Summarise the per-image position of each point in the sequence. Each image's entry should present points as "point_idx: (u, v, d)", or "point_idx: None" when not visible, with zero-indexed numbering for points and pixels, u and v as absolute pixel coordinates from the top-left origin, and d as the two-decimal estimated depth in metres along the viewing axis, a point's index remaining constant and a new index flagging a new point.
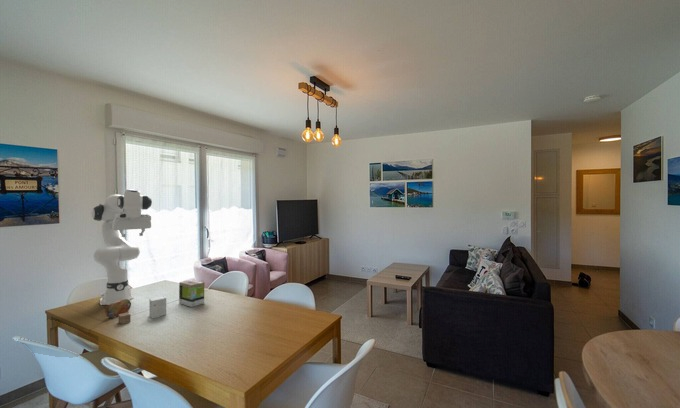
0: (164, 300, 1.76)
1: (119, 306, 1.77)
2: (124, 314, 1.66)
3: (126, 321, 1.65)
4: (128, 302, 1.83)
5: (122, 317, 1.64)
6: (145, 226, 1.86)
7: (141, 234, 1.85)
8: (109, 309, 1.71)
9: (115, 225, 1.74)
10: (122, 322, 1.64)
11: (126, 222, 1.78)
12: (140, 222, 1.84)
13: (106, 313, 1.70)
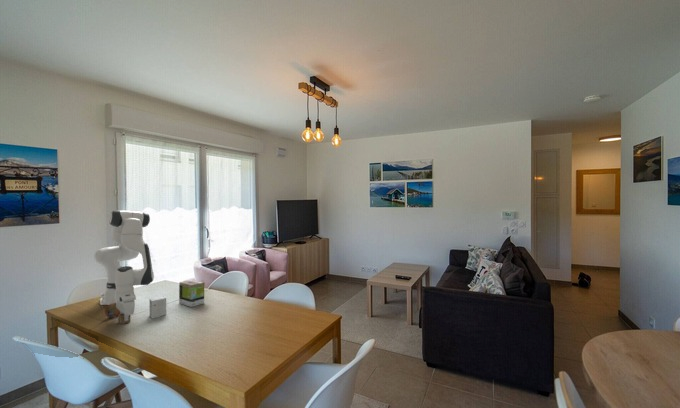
0: (164, 300, 1.76)
1: None
2: None
3: (126, 321, 1.65)
4: None
5: (122, 317, 1.64)
6: None
7: None
8: (109, 309, 1.71)
9: None
10: (122, 322, 1.64)
11: None
12: None
13: (106, 313, 1.70)
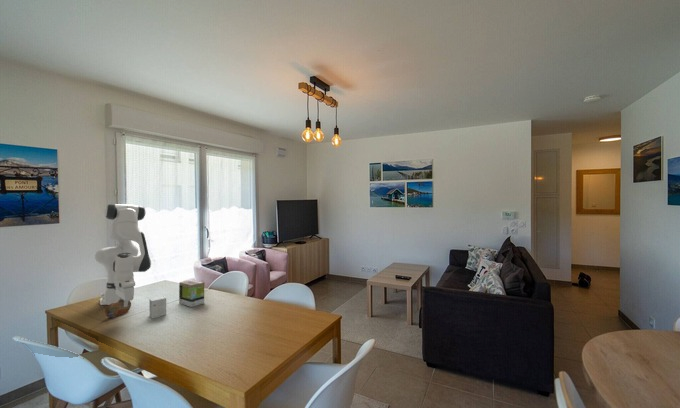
0: (164, 300, 1.76)
1: None
2: (123, 300, 1.66)
3: (125, 307, 1.65)
4: None
5: (121, 303, 1.64)
6: None
7: None
8: (109, 309, 1.71)
9: None
10: (121, 308, 1.64)
11: None
12: None
13: (106, 313, 1.70)
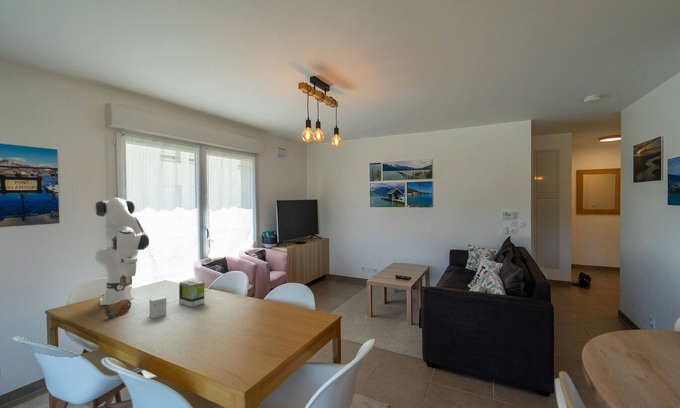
0: (164, 300, 1.76)
1: (119, 306, 1.77)
2: None
3: (128, 283, 1.66)
4: (128, 302, 1.83)
5: (124, 279, 1.64)
6: None
7: None
8: (109, 309, 1.71)
9: None
10: (124, 284, 1.64)
11: None
12: None
13: (106, 313, 1.70)
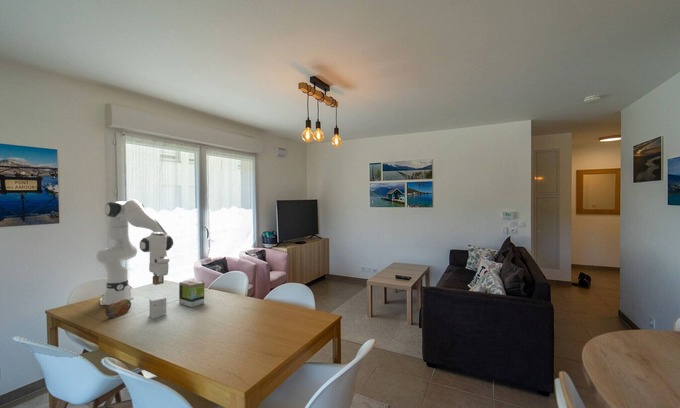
0: (164, 300, 1.76)
1: (119, 306, 1.77)
2: (158, 276, 1.76)
3: (160, 282, 1.75)
4: (128, 302, 1.83)
5: (156, 278, 1.74)
6: None
7: None
8: (109, 309, 1.71)
9: None
10: (156, 283, 1.74)
11: None
12: None
13: (106, 313, 1.70)
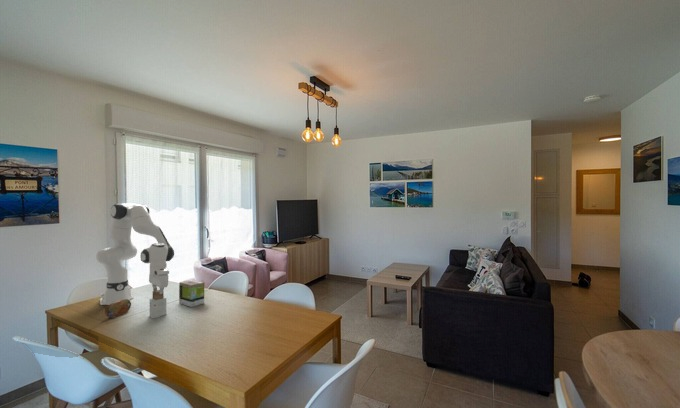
0: (164, 300, 1.76)
1: (119, 306, 1.77)
2: (158, 291, 1.76)
3: (160, 297, 1.75)
4: (128, 302, 1.83)
5: (156, 293, 1.74)
6: None
7: None
8: (109, 309, 1.71)
9: None
10: (156, 298, 1.74)
11: None
12: None
13: (106, 313, 1.70)
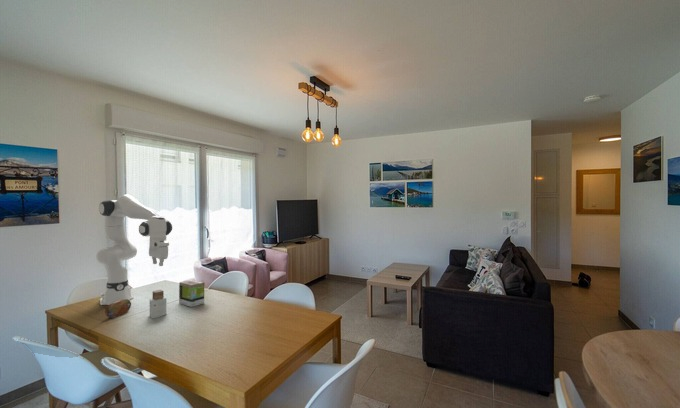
0: (164, 300, 1.76)
1: (119, 306, 1.77)
2: (158, 291, 1.76)
3: (160, 297, 1.75)
4: (128, 302, 1.83)
5: (156, 293, 1.74)
6: None
7: None
8: (109, 309, 1.71)
9: None
10: (156, 298, 1.74)
11: None
12: None
13: (106, 313, 1.70)
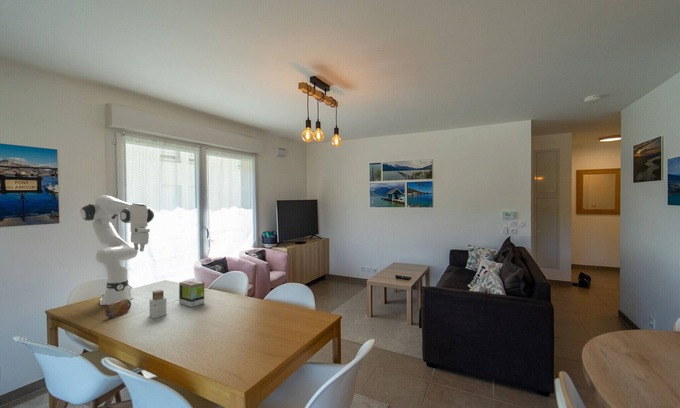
0: (164, 300, 1.76)
1: (119, 306, 1.77)
2: (158, 291, 1.76)
3: (160, 297, 1.75)
4: (128, 302, 1.83)
5: (156, 293, 1.74)
6: None
7: None
8: (109, 309, 1.71)
9: None
10: (156, 298, 1.74)
11: None
12: None
13: (106, 313, 1.70)
